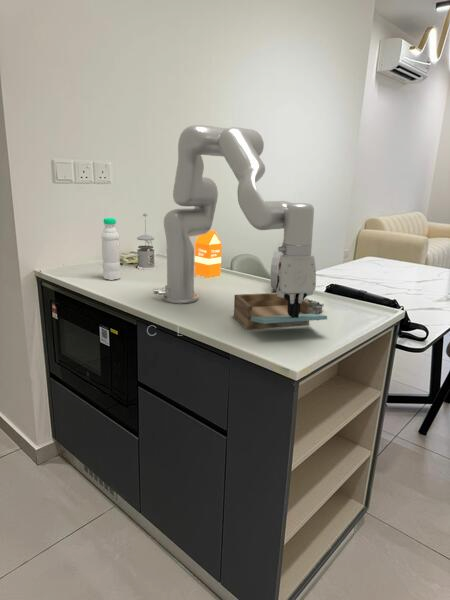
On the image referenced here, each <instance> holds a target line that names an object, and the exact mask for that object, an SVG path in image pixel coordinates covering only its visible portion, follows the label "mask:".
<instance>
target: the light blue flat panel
mask: <svg viewBox="0 0 450 600" xmlns="http://www.w3.org/2000/svg"><path fill="white" fill-rule="evenodd" d="M323 320H328V315H323V314H318V315H317V314H299V317H298V318H296V317H295V318H292V317H291V316H289V315H281V316H265V317H251V321H254V322H258V323H263V324H267V323H279V324H280V325H290V324H304V323H307V321H309V322H310V321H323Z"/></svg>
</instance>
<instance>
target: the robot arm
mask: <svg viewBox="0 0 450 600" xmlns="http://www.w3.org/2000/svg"><path fill="white" fill-rule="evenodd" d="M264 146H265V145H264V140H263V137H262V135H261V134H260V133H259V132H258V131H257V130H255V129H252V128H251V129H250V128H243V127H234V126H233V127H228V128H225V127H218V126H211V125H203V124H194V125H189V126H187V127H185V128H184V129H183V130H182V131H181V133H180V135H179V138H178V143H177V155H178V156H177V166H176V171H175V178H174V185H173V191H172V197H173V201H174V203H175V204H176V205H178V206H180V207H194V208H175V209H172V210H170V211H168V212H167V213H166V214H165V216H164V217H163V228H164V233H165V241H166V284H165V285H164V287H162V288H153V295H158V296H162V300H163V301H164V302H166V303H170V304H191V303H194V302H195V303H196V302H197V300H199V295H198V294H197V293H195V246H194V244H193V243H192V241H191V239H190V238H191V237H198V236H200V235H205V234H207V233H208V232H209V230H211V228H212V225H213V223H214V222H213V221H214V218H215V217H214V216H215V212H216V209H217V207H216V206H217V204H218V203H217V202H218V196H219V194H218V193H219V192H218V186H217V185H216V183H215V181H214V180H213V179H212V178H210V177H206V176H205V177H203V174H204V167H205V166H204V165H205V164H204V160H203V157H202V156H211V157H212V156H213V157H223V158H224V159H225V161H226V162H227V164H228V167H230V169H231V170H232V173H233V175H234V176H235V178H236V180H237V181H238V185H237V189H236V191H237V201H238V205H239V207H240V210H241V211H242V213H243V215H244V216H245V218H246V220H247V221H248V223H249V224H250V225H251V226H252V227H253V228H254V229H256V230H258V231H272V230H281V229H283V239H282V241H283V244H282V246H281V247H279V248H278V251H279V252H282V253H283V255H281V256H280V259H279V263H278V269H277V276H276V289H277V291H275V293H276V296H278V297H282V298H285V299H286V301H288V314H289V316H291V317H292V318H295V317H296V318H298V317H299V313H300V303H302V301H303V299H306V298H307V297H309V296H312V295H314V292H315V290H316V287H317V284H316V283H317V273H316V271H317V270H316V261H315V256H314V255H312V249H313V248H312V247H313V244H312V243H313V232H314V231H313V229H314V214H315V208H314V206H313V204H311V203H306V202H305V203H302V202H290V201H286V200H277V201H276V200H272V201H269V200H268V201H267V200H266V201H265V200H264V199H263V197H262V195H261V194H260V192H259V189H257V186H256V183H257V182H258V181H260V179H262V177H263V176H264V175H265V172H266V166H265V164H264V162H263V161H262V159H261V158H260V156H261V155H262V154H263V152H264V149H265V148H264ZM294 294H295V297H294Z"/></svg>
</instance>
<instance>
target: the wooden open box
mask: <svg viewBox="0 0 450 600" xmlns="http://www.w3.org/2000/svg"><path fill="white" fill-rule="evenodd" d="M294 297H295V294H294ZM233 299H234V302H233V304H234V305H233V317H234V318H235V319H236V320H237V321H239V323H240V324H241V325H242V326H243V327H244V328H245V329H246V330H257V329H259V330H260V329H271V328H274V329H275V328H286V327H298V326H299V327H300V326H301V327H302V326H309V325H310V321H307V323H304V324H290V325H280V324H279V323H267V324H263V323H258V322H254V321H251V317H265V316H281V315H289V314H288V301H286V299H285V298H282V297H278V296H276V292H265V293H262V292H261V293H243V294H234V298H233ZM305 299H306V298H304V299H303V301H302V303H300V313H299V314H310V308H311V303H310V302H308V301H307V300H305Z"/></svg>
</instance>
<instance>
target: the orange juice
mask: <svg viewBox="0 0 450 600" xmlns="http://www.w3.org/2000/svg"><path fill="white" fill-rule="evenodd" d="M222 246H223V245H222V242H221V240H220V238H219V236H218V233H217V231H215V230H211V229H210V230H209V232H208V233H207V234H205V235H200V236H197V238H196V240H195V242H194V275H195V274H197V275H200V276H204V277H207V278H206V279H208V278H209V279H211V278H210V277H214V278H216V277H215V276H219V277H221V276H220V275H221V270H222V269H221V268H222ZM197 275H196V276H197ZM200 276H199V277H200ZM204 277H203V278H204Z"/></svg>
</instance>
